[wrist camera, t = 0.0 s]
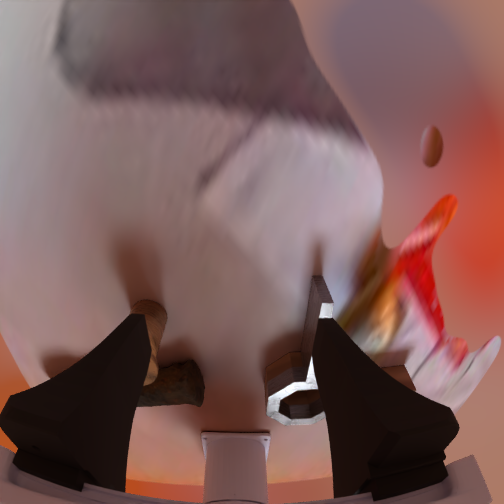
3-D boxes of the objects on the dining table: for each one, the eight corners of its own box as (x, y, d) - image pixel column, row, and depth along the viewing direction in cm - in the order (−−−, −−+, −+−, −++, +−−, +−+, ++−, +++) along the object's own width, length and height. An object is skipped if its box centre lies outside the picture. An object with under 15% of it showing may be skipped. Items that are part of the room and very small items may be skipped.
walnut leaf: (393, 388, 30) (403, 412, 27) (263, 397, 30) (264, 425, 27) (413, 344, 27) (427, 369, 24) (267, 352, 27) (270, 382, 24)
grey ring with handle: (326, 395, 30) (333, 422, 27) (263, 397, 30) (264, 425, 27) (358, 276, 24) (373, 302, 20) (273, 275, 23) (278, 303, 20)
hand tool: (195, 351, 27) (188, 390, 23) (208, 380, 29) (204, 419, 24) (41, 361, 28) (24, 390, 24) (58, 386, 30) (44, 415, 26)
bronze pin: (174, 334, 26) (161, 388, 20) (132, 331, 26) (111, 382, 20) (169, 296, 24) (152, 350, 19) (123, 294, 24) (98, 344, 19)
